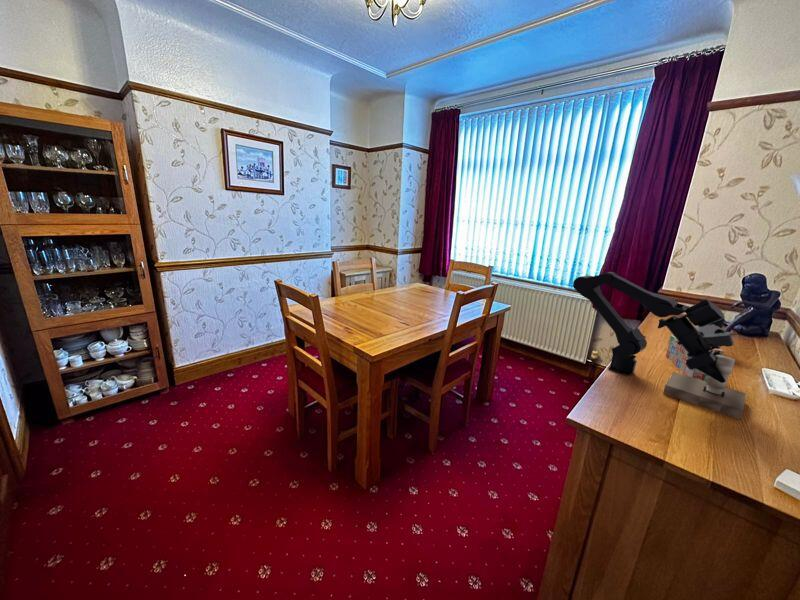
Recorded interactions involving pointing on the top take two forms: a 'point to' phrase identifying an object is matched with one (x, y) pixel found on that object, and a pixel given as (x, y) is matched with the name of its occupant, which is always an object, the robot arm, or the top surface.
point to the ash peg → (725, 368)
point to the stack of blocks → (684, 359)
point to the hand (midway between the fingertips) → (724, 379)
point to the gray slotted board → (705, 395)
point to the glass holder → (711, 327)
